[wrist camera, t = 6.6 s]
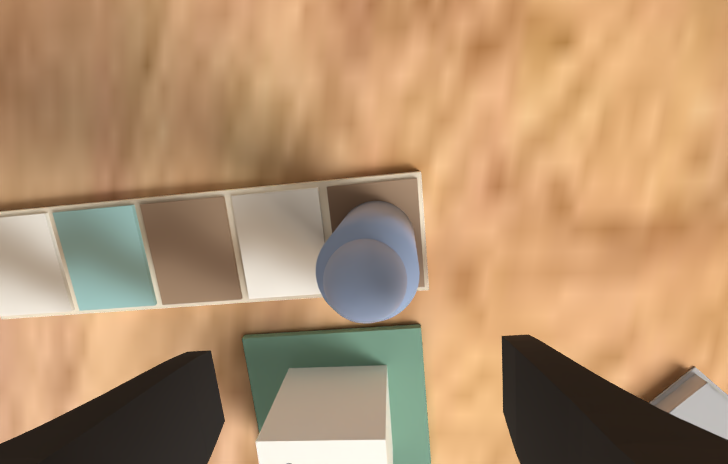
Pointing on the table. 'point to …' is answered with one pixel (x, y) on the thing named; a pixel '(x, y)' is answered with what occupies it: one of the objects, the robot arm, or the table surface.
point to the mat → (350, 348)
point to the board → (186, 246)
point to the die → (329, 418)
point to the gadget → (696, 402)
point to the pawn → (369, 264)
